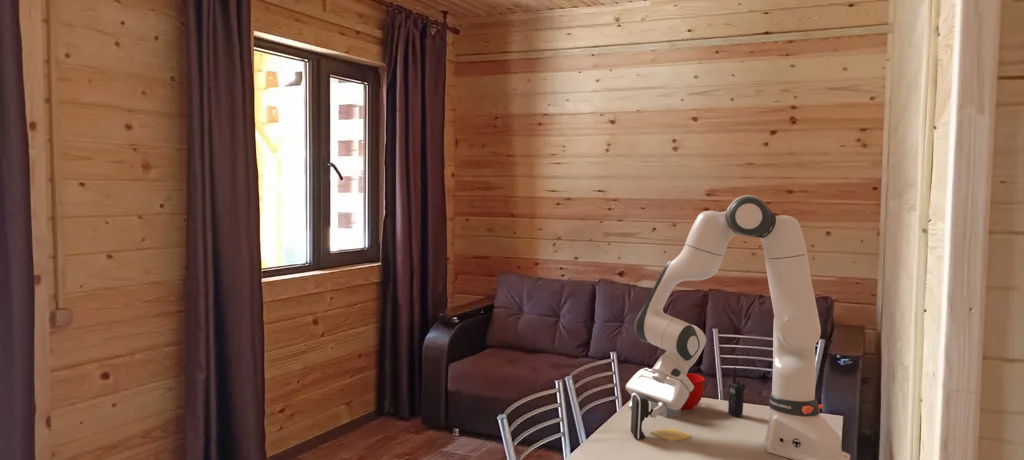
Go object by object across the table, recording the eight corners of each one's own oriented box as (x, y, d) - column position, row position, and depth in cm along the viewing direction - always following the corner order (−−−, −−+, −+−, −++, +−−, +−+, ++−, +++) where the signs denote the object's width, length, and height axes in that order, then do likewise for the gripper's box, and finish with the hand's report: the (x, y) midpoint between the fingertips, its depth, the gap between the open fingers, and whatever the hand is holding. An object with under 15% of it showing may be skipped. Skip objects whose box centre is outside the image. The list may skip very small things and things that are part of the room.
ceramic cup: (707, 402, 251) (709, 372, 251) (700, 415, 235) (701, 384, 235) (668, 397, 256) (669, 368, 255) (658, 410, 240) (659, 379, 240)
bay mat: (691, 437, 214) (691, 435, 214) (670, 442, 209) (670, 439, 209) (670, 429, 221) (671, 427, 220) (650, 433, 216) (650, 431, 216)
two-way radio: (725, 413, 239) (727, 366, 239) (738, 412, 241) (740, 365, 240) (735, 418, 234) (737, 370, 233) (748, 417, 235) (750, 369, 235)
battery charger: (648, 440, 210) (650, 399, 210) (635, 440, 210) (636, 399, 209) (643, 432, 217) (645, 392, 217) (630, 431, 217) (631, 392, 216)
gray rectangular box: (680, 414, 236) (682, 366, 235) (666, 417, 233) (668, 368, 232) (663, 408, 242) (665, 361, 241) (649, 411, 239) (651, 363, 238)
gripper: (637, 360, 226) (611, 396, 221) (687, 375, 209) (660, 414, 204) (648, 373, 228) (622, 409, 224) (698, 389, 211) (671, 428, 206)
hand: (640, 412), depth 214 cm, fingers closed on battery charger, 7 cm apart
